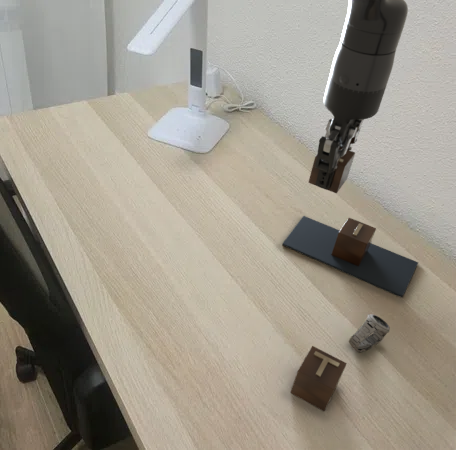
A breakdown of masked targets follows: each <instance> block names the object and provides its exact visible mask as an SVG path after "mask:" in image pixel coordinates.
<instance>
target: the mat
mask: <svg viewBox="0 0 456 450" xmlns="http://www.w3.org/2000/svg"><path fill="white" fill-rule="evenodd" d="M340 230H341V229H338V228H335V227H333V226H330V225H327V224H326V223H323V222H321V221H318V220H315V219H313V218H310V217H308V216H306V215H303V216H302V217H301V218H300V219H299V222H298V223H296V225H295V226H294V227H293V229H292V230H291V232H290V233H289V234H288V236H287V237H286V238H285V239H284V241H283V242H282V243H281V245H282V246H283V247H285V248H287V249H289V250H292V251H294V252H296V253H299V254H301V255H304V256H306V257H307V258H310V259H313V260H315V261H317V262H319V263H322V264H324V265H327V266H328V267H331V268H333V269H336V270H338V271H340V272H342V273H344V274H347V275H349V276H352V277H353V278H356V279H359V280H361V281H363V282H365V283H367V284H370V285H372V286H374V287H377V288H379V289H381V290H384V291H386V292H388V293H391V294H392V295H395V296H397V297H400V298H404V295H405V293H406V291H407V288H408V286H409V284H410V282H411V280H412V277H413V275H414V274H415V271H416V269H417V267H418V265H419V262H418V261H416V260H413V259H411V258H409V257H406V256H404V255H401V254H399V253H396V252H394V251H391V250H389V249H386V248H384V247H382V246H379V245H376V244H375V243H372V242H371V243H370V246H369V249H368V251H367V253H366V254H365V256H364V258H363V260H362V261H361V263H360V265H359V266H356V265H354V264H352V263H349V262H347V261H345V260H342V259H340V258H338V257H335V256H333V255H332V251H333V248H334V245H335V242H336V239H337V236H338V233H339V231H340Z"/></svg>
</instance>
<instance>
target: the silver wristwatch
mask: <svg viewBox="0 0 456 450" xmlns="http://www.w3.org/2000/svg"><path fill="white" fill-rule="evenodd" d="M390 331H391V328H390V326H389V324H388V323H387V322H386V321H385V320H384V319H382V318H381V317H380V316H378V315H376V314H373V313H371V314H370V313H368V314H367V317H366V319H365V321H364V322H363V323H362V325H361V326H360V327H359V328H358V329H357V330H356V332H354V333H353V334H352V335H351V336H350V338H349V340H348V343H349V345H350V346H351V348H352V349H353V350H355V351H356V352H358V353H362V352H364V351H368V350H370V349H371V348H373V347H374V346H376V345H377V344H379V343H380V342H382V340H384V338H385V337H386V335H387V334H388V333H389V332H390Z"/></svg>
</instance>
